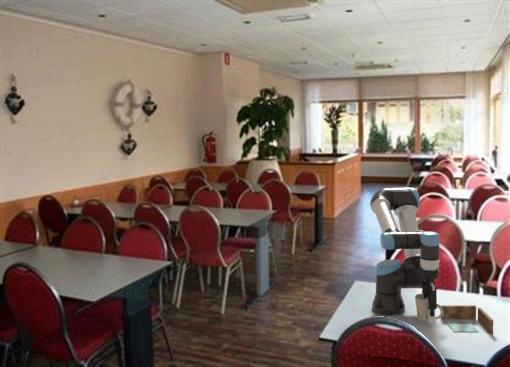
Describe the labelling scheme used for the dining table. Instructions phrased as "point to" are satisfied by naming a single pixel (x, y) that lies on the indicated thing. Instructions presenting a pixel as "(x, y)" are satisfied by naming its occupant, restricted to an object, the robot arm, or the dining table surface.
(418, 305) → the mug
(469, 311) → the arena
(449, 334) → the dining table surface
